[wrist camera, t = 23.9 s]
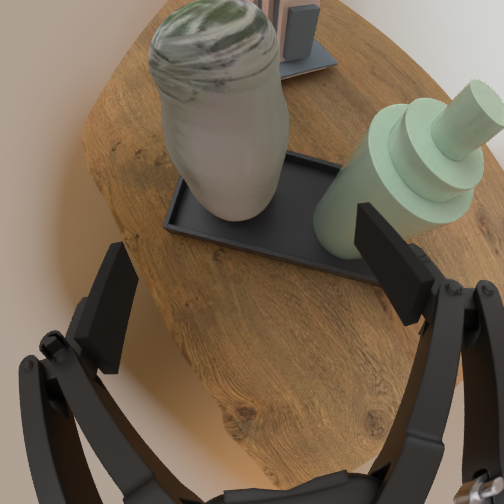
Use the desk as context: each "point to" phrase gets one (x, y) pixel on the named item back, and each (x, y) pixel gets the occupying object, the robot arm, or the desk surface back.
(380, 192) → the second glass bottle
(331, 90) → the desk surface
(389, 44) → the desk surface
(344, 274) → the tray
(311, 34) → the woven storage basket
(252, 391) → the desk surface
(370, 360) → the desk surface
